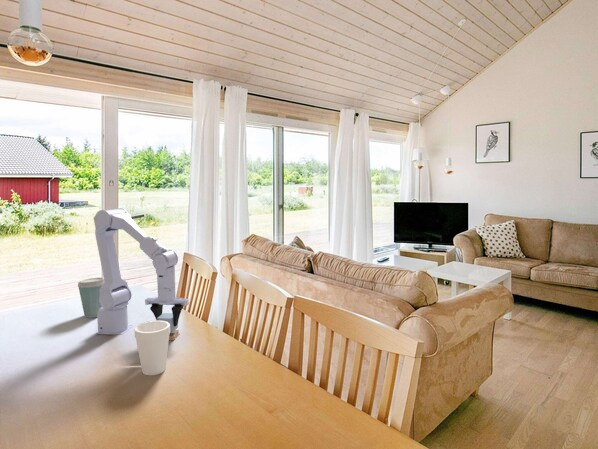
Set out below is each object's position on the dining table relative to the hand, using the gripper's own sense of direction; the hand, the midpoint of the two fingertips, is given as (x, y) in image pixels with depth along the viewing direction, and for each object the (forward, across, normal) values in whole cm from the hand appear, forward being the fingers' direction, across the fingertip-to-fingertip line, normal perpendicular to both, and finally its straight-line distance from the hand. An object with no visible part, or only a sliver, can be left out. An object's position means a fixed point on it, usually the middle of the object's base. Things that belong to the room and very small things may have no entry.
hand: (167, 325), depth 133 cm
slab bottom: (+6, 0, 0) cm, 6 cm away
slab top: (+4, 0, 0) cm, 4 cm away
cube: (+2, 0, 0) cm, 2 cm away
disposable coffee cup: (+5, -39, +20) cm, 44 cm away
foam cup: (+5, +5, -22) cm, 23 cm away
